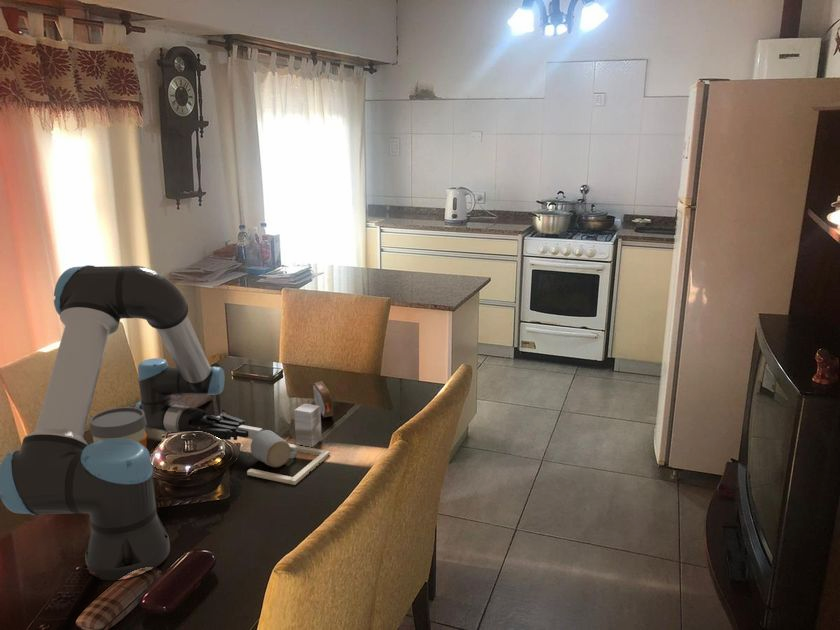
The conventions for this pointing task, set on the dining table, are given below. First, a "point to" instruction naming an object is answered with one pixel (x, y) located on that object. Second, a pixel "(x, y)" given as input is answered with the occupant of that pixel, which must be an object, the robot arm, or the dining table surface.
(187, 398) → the food item
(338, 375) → the dining table surface
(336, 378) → the dining table surface
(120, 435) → the reusable coffee cup
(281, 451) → the ceramic mug
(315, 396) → the tin
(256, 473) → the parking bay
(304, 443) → the grey block
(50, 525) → the dining table surface
